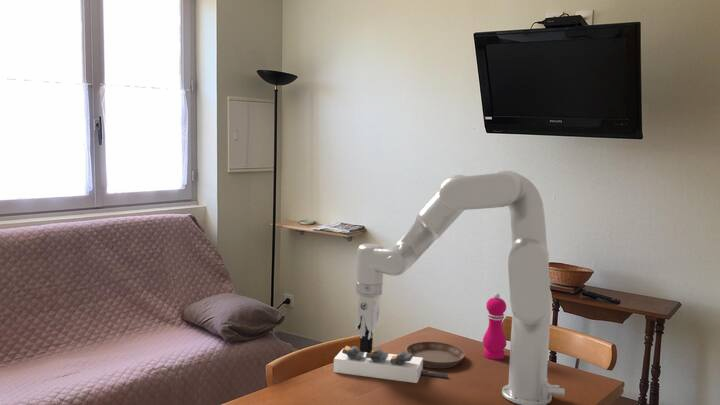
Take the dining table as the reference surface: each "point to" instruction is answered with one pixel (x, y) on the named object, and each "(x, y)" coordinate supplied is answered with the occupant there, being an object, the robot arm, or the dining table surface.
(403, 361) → the switch
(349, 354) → the switch
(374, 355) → the switch middle
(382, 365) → the power strip
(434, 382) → the dining table surface
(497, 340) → the pepper mill
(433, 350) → the plant saucer
